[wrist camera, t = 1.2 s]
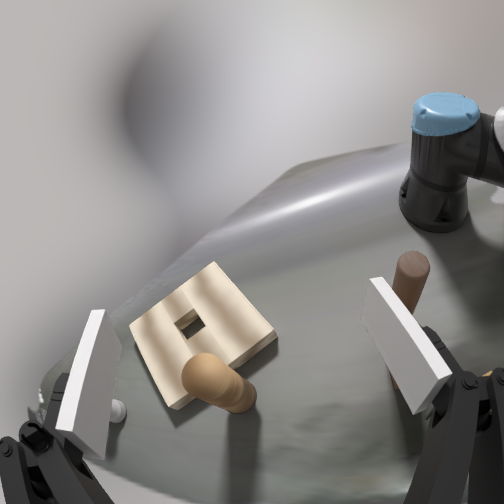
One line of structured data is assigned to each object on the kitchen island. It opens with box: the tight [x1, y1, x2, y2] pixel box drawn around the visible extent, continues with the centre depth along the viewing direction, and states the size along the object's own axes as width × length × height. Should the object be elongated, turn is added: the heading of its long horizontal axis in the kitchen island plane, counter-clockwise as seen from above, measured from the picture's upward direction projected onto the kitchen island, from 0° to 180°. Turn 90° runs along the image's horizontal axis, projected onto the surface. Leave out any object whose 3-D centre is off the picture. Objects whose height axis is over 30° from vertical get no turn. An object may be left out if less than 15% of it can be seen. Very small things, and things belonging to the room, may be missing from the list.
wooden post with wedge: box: [390, 251, 430, 389], centre depth 31 cm, size 4×11×18 cm, turn 4°
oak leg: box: [181, 353, 257, 414], centre depth 34 cm, size 5×5×15 cm
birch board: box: [129, 261, 278, 410], centre depth 48 cm, size 20×18×3 cm
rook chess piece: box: [109, 399, 126, 423], centre depth 40 cm, size 4×4×8 cm
